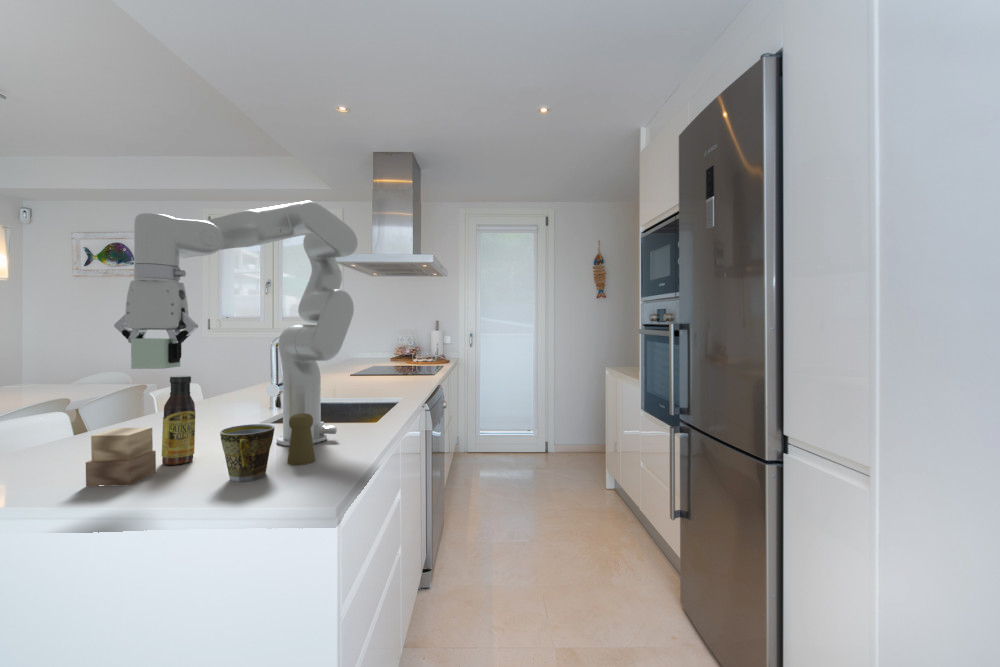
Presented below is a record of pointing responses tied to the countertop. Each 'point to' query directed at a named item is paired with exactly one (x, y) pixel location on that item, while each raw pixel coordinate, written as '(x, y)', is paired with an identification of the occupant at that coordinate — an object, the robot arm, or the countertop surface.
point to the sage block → (150, 353)
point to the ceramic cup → (247, 450)
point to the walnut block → (120, 470)
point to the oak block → (121, 444)
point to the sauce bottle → (178, 423)
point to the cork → (301, 440)
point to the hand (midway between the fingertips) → (156, 361)
